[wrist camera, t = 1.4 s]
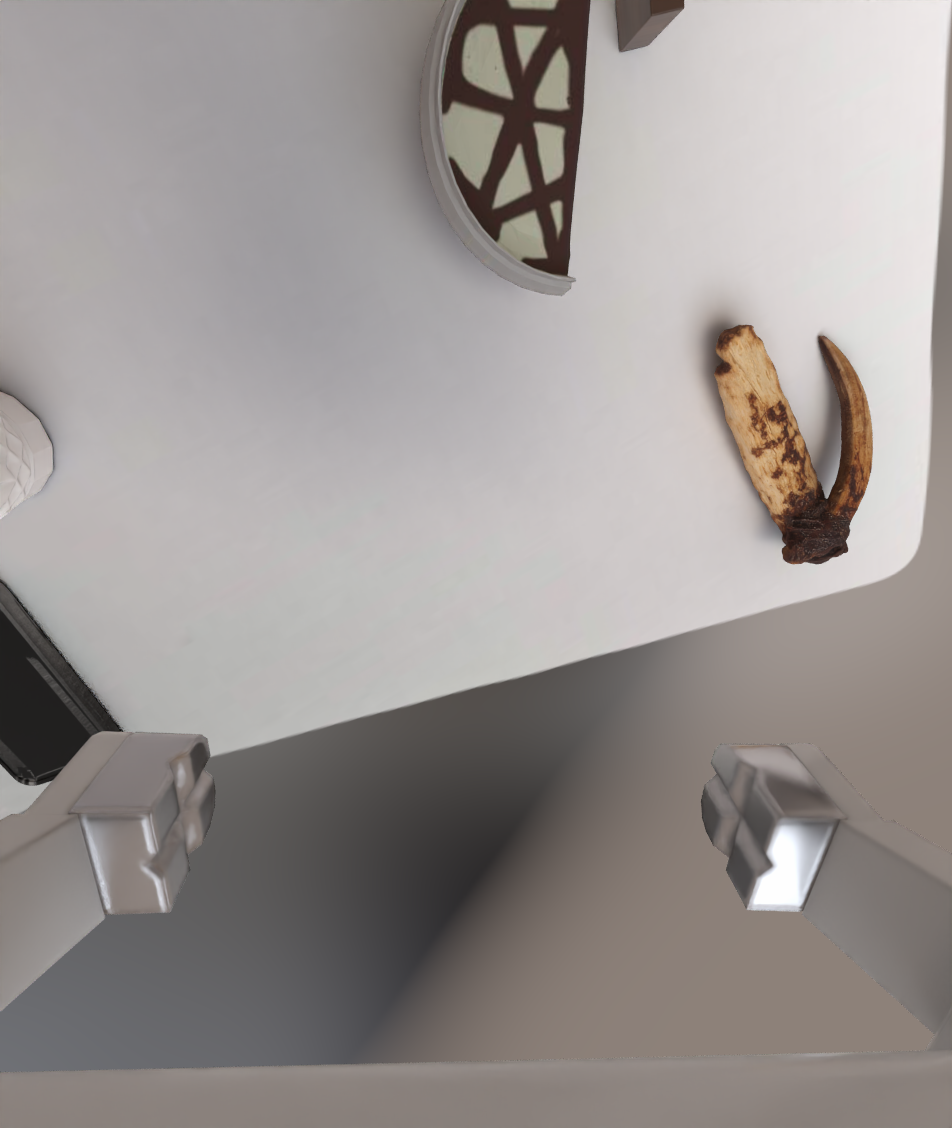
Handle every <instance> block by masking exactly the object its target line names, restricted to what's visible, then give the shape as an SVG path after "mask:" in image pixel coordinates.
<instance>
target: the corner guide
mask: <svg viewBox="0 0 952 1128" xmlns="http://www.w3.org/2000/svg"><path fill="white" fill-rule="evenodd" d="M683 9H684V0H616V11H617V24H618V36H619V48H620V52H623V51H628V50H632V49H636V48H640V47H644V46H648V45H649V44H650V43H651V42H652V41H653V40H654V39H655V38H656V37H657V36H658V35H659V34H660V33H661V32H662V31H663V30H664V29H665V28H666V27H667V25H668V24H669V23H670V22H671V21H672V20H673V19H674V18H675V17H676V16H677V15H678V14H679V13H680V12H681V11H682V10H683Z"/></svg>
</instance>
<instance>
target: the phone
mask: <svg viewBox="0 0 952 1128" xmlns="http://www.w3.org/2000/svg"><path fill="white" fill-rule="evenodd" d="M101 731H110V732H121V731H120V730H119V728H118V727H117V726H116V725H115V723H114V722H113V721H112V720H111V718H110V717H109V716H108V715H107V713H106V712H105V711H104V710H103V708H102V707H101V706H100V705H99V703H98V702H97V701H96V699H95V698H94V697H93V696H92V694H91V693H90V692H89V691H88V689H87V688H86V687H85V686H84V684H83V683H82V682H81V681H80V679H79V678H78V677H77V676H76V674H75V673H74V672H73V671H72V669H71V668H70V667H69V665H68V664H67V663H66V662H65V660H64V659H63V658H62V657H61V655H60V654H59V653H58V652H57V650H56V649H55V648H54V647H53V645H52V644H51V643H50V642H49V640H48V639H47V638H46V637H45V635H44V634H43V633H42V632H41V630H40V629H39V628H38V626H37V625H36V624H35V623H34V621H33V620H32V619H31V618H30V616H29V615H28V614H27V613H26V611H25V610H24V609H23V608H22V606H21V605H20V604H19V603H18V601H17V600H16V599H15V598H14V596H13V595H12V594H11V593H10V591H9V590H8V589H7V588H6V587H5V586H4V585H3V584H2V583H0V764H1V765H2V766H3V767H4V768H5V769H6V771H7V772H8V773H9V774H10V775H11V776H12V777H13V778H14V779H15V780H17V781H18V782H20V783H22V784H25V785H29V786H35V785H40V784H43V783H46V782H49V781H52V780H54V778H55V777H56V776H57V775H58V774H59V773H60V772H61V770H62V769H63V768H64V767H65V766H66V765H67V764H68V762H69V761H70V760H71V759H72V758H73V757H74V756H75V754H76V753H77V752H78V751H79V750H80V749H81V748H82V746H83V745H84V744H85V743H86V742H87V741H88V739H89V738H90V737H91V736H92V735H95V734H97V733H99V732H101Z"/></svg>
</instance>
